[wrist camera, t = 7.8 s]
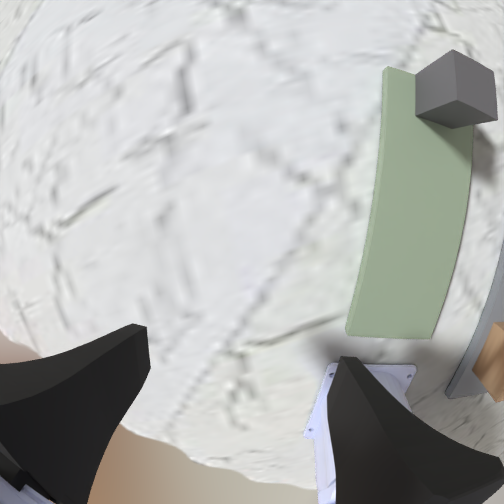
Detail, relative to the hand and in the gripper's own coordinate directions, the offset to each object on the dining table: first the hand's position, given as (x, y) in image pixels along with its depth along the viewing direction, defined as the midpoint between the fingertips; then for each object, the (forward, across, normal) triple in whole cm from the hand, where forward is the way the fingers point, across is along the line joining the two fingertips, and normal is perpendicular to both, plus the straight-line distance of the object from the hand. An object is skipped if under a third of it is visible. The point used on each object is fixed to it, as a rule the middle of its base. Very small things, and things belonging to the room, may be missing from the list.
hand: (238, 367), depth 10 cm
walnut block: (+8, -23, +4) cm, 25 cm away
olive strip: (+9, -10, -6) cm, 15 cm away
